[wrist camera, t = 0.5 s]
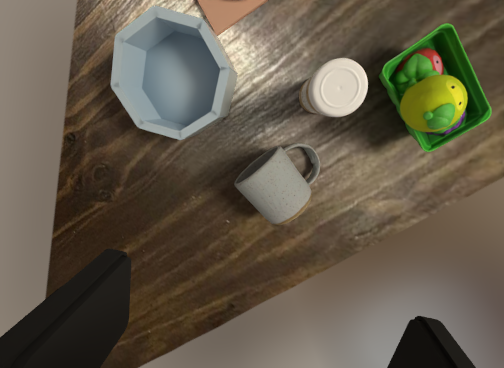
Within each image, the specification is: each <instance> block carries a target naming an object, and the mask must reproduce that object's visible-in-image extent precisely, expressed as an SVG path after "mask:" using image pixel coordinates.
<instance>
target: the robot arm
mask: <svg viewBox="0 0 504 368" xmlns="http://www.w3.org/2000/svg"><path fill="white" fill-rule="evenodd" d="M130 279H131V258H129V257H127V253H126V252H123V251H118V250H114V249H106V250H105V251H104V252H102V253H101V254H100V255H99V256H98V257H97V258H95V259H94V260H93V261H92V262H91V263H89V264H88V265H87V266H86V267H85V268H84V269H82V270H81V271H80V272H79V273H78V274H76V275H75V276H74V277H73V278H72V279H71V280H69V281H68V282H67V283H66V284H65V285H63V286H62V287H60V288H59V289H57V290H56V291H55V292H54V293H53V294H51V295H50V296H49V297H48V298H47V299H45V300H44V301H43V302H42V303H41V304H40V305H38V306H37V307H36V308H35V309H34V310H32V311H31V312H30V313H29V314H28V315H26V316H25V317H24V318H23V319H22V320H20V321H19V322H18V323H17V324H16V325H15V326H13V327H12V328H11V329H10V330H9V331H8V332H6V333H5V334H4V335H3V336H1V337H0V368H100V367H101V365H102V364H103V362H104V361H105V359H106V358H107V356H108V355H109V353H110V352H111V350H112V349H113V347H114V346H115V345H116V343H117V342H118V340H119V339H120V337H121V336H122V334H123V333H124V331H125V329H126V327H127V324H128V321H129V302H130ZM387 368H476V367H475V366H474V365H473V363H472V362H471V361H470V359H469V358H468V357H467V355H466V354H465V353H464V352H463V350H462V349H461V348H460V346H459V345H458V344H457V342H456V341H455V340H454V338H453V337H452V336H451V334H450V333H449V332H448V330H447V329H446V328H445V326H444V325H443V324H442V323H441V322H440V321H438V320H436V319H432V318H427V317H422V316H417V317H415V319H414V320H410V322H409V323H408V325H407V328H406V330H405V332H404V334H403V336H402V338H401V340H400V342H399V344H398V346H397V348H396V351H395V353H394V355H393V357H392V359H391V361H390V363H389V365H388V367H387Z"/></svg>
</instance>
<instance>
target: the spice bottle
mask: <svg viewBox="0 0 504 368" xmlns="http://www.w3.org/2000/svg"><path fill="white" fill-rule="evenodd" d="M367 89H368V80H367V76H366V73H365V71H364V69H363V68H362V67H361V66H360V65H359V64H358V63H357V62H355V61H353V60H351V59H347V58H338V59H333V60H331V61H329V62H327V63H325V64H324V65H323V66H321V67H320V68H319V69H318V70H317V71H316V72H315V74H314V75H313V76H312V77H311V78H310V79H308V80H307V81H306V82H304V84H303V85H302V86H301V88H300V91H299V101H300V104H301V106H302V107H303V109H305V110H306V111H307V112H310V113H314V114H316V113H317V114H322V115H325V116H329V117H342V116H346V115H348V114H350V113H352V112H353V111H355V110H356V109H357V108H358V107H359V106H360V105H361V104H362V102H363V101H364V99H365V96H366V94H367Z"/></svg>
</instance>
